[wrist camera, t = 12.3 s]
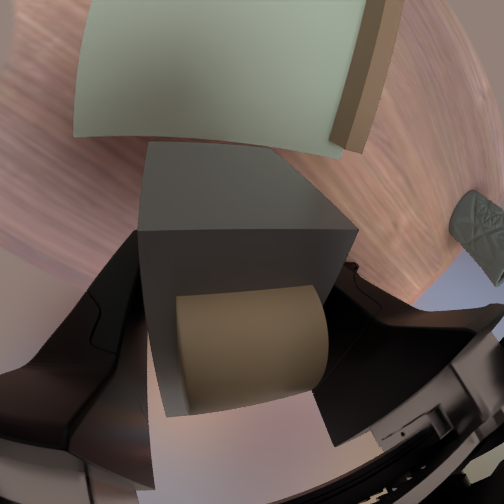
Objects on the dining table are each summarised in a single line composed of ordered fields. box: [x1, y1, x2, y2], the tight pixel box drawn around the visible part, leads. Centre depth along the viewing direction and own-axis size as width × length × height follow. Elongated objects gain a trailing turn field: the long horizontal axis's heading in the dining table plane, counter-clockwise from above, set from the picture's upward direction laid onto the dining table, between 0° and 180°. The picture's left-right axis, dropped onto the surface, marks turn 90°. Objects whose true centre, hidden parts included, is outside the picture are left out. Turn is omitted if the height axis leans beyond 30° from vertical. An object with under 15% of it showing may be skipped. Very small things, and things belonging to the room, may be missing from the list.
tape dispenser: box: [137, 141, 359, 417], centre depth 8 cm, size 8×4×7 cm, turn 169°
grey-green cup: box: [449, 190, 504, 287], centre depth 29 cm, size 10×10×12 cm
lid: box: [73, 0, 404, 160], centre depth 8 cm, size 12×14×3 cm
